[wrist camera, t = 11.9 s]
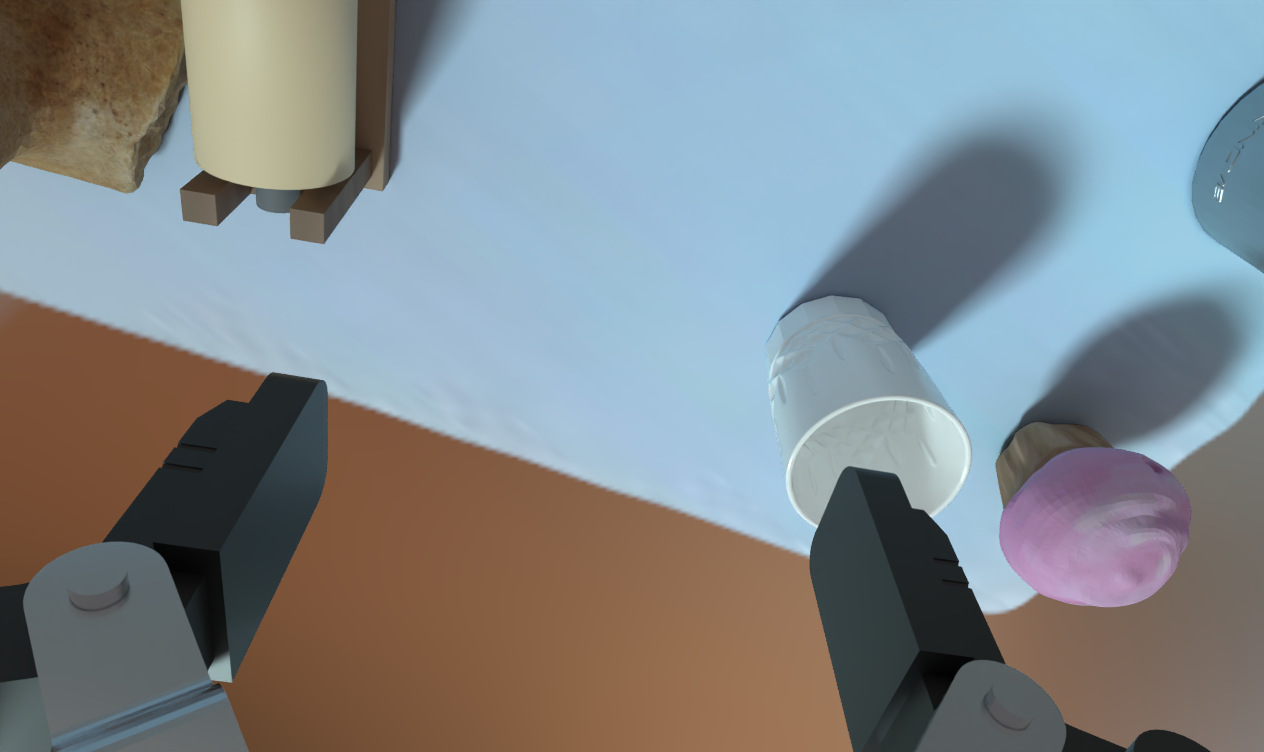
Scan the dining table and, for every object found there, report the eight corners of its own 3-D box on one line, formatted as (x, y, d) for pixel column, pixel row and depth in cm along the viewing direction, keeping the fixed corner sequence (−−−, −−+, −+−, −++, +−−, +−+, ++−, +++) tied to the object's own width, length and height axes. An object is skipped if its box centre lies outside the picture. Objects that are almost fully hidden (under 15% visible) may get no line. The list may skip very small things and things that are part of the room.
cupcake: (1057, 519, 51) (1144, 654, 42) (932, 486, 49) (997, 620, 41) (1149, 405, 46) (1268, 532, 38) (1015, 365, 45) (1108, 488, 36)
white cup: (752, 291, 42) (786, 405, 33) (909, 276, 42) (984, 388, 33) (754, 417, 46) (785, 546, 38) (896, 404, 46) (960, 532, 38)
